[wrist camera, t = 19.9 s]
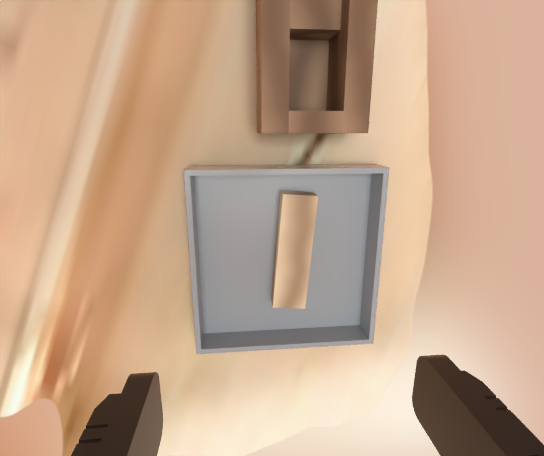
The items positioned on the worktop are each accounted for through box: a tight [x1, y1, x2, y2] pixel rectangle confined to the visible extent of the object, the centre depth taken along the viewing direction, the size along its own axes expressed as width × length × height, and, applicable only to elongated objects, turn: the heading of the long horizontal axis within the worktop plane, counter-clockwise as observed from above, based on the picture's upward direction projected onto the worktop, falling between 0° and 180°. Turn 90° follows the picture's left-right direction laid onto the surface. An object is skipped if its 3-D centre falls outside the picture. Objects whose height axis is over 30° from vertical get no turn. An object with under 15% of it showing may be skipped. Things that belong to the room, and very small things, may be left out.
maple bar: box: [271, 190, 318, 309], centre depth 42 cm, size 4×14×2 cm, turn 175°
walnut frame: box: [256, 0, 378, 133], centre depth 34 cm, size 10×20×7 cm, turn 0°
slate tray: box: [184, 164, 389, 354], centre depth 42 cm, size 22×22×4 cm
